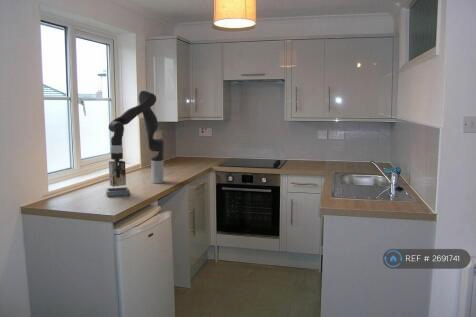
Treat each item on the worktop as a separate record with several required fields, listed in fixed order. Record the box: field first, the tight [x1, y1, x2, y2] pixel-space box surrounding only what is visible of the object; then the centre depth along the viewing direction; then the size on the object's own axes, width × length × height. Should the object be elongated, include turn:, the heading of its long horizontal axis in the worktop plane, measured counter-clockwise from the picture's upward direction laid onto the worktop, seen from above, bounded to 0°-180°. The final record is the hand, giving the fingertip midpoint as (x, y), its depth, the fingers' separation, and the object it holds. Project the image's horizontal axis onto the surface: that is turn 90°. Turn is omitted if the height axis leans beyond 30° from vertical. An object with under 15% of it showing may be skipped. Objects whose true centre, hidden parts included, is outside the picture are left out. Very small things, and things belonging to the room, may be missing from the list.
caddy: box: [105, 186, 131, 198], centre depth 278 cm, size 11×14×4 cm
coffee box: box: [108, 160, 127, 188], centre depth 277 cm, size 9×6×16 cm
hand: (117, 176), depth 277 cm, fingers closed on coffee box, 7 cm apart
